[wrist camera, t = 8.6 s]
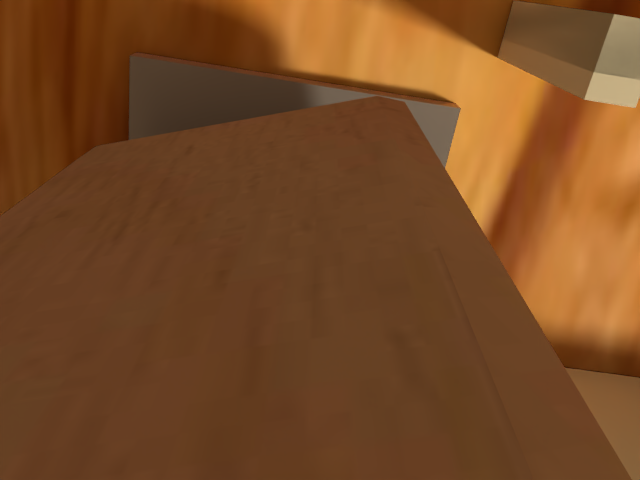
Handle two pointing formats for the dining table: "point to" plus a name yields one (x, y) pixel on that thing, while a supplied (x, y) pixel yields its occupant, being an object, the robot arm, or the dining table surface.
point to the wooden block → (275, 316)
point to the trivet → (250, 98)
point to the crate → (601, 86)
